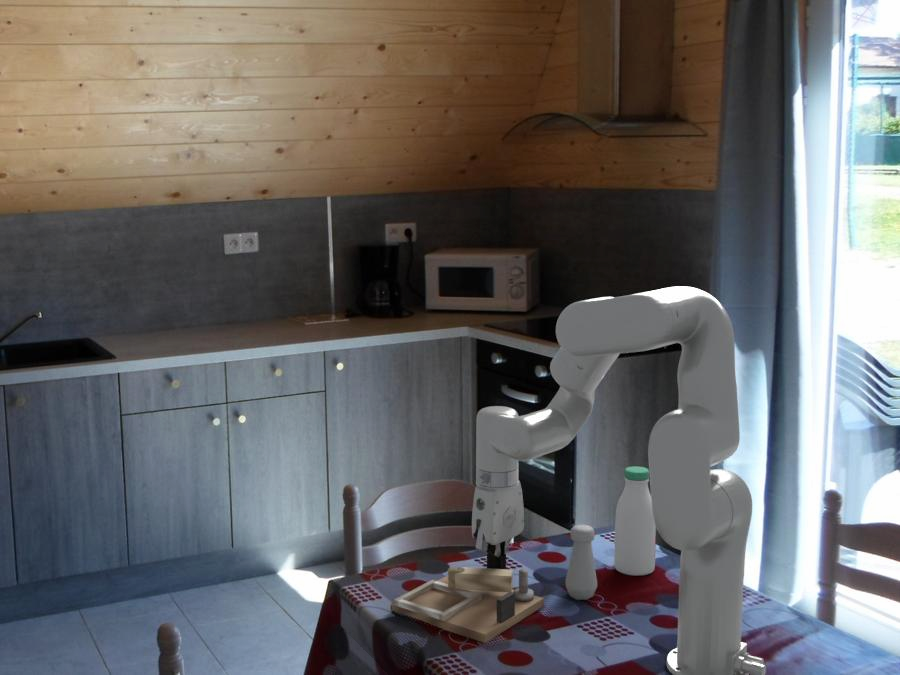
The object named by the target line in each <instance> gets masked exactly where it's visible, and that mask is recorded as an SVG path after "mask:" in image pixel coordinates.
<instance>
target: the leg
mask: <svg viewBox="0 0 900 675" xmlns="http://www.w3.org/2000/svg"><path fill="white" fill-rule="evenodd" d="M447 575H448V587H449V588H451V589H461V590H478V591H495V592H512V589H513V587H514V570H513V569H507V568H506V569H490V568H487V567H486V568H485V567H470V566H469V567H468V566H467V567H465V566H451V567H449V568H447Z"/></svg>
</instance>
